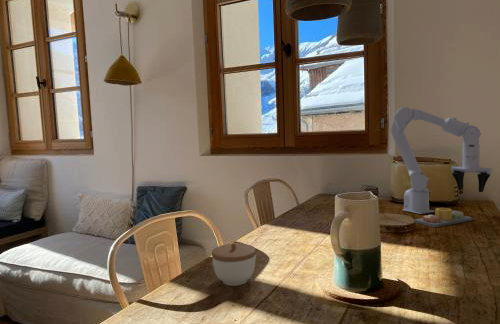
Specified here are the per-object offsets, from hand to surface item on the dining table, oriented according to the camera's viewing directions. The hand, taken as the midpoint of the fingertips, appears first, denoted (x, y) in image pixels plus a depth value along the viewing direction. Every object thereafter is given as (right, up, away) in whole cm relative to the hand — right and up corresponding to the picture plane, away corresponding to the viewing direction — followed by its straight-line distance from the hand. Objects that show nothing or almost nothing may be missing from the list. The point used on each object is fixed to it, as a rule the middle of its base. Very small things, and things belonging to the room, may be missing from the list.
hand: (470, 190), depth 146 cm
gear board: (-15, -11, -8) cm, 20 cm away
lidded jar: (-91, -18, -55) cm, 108 cm away
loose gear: (-15, -10, -8) cm, 19 cm away
